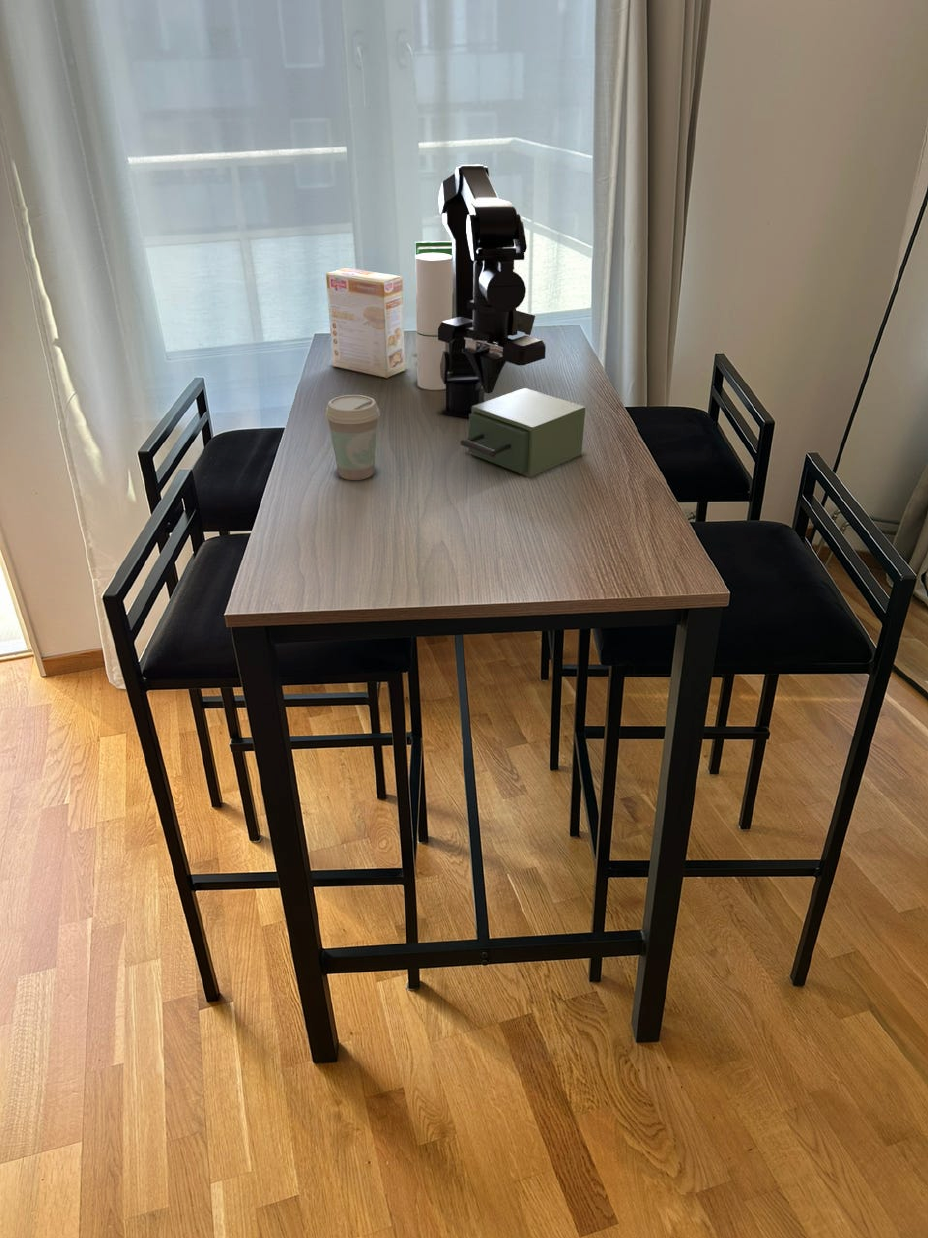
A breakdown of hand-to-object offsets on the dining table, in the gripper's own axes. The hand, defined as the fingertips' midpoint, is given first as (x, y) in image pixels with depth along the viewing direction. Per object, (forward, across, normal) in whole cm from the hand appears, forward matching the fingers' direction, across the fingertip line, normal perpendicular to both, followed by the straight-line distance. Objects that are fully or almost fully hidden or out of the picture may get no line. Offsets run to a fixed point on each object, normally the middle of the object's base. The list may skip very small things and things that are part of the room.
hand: (488, 392), depth 145 cm
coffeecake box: (+13, +52, -18) cm, 56 cm away
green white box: (+13, +43, -36) cm, 58 cm away
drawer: (+11, -3, -2) cm, 11 cm away
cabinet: (+12, -3, -6) cm, 14 cm away
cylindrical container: (+12, +34, -21) cm, 42 cm away
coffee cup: (+12, +11, +20) cm, 25 cm away
